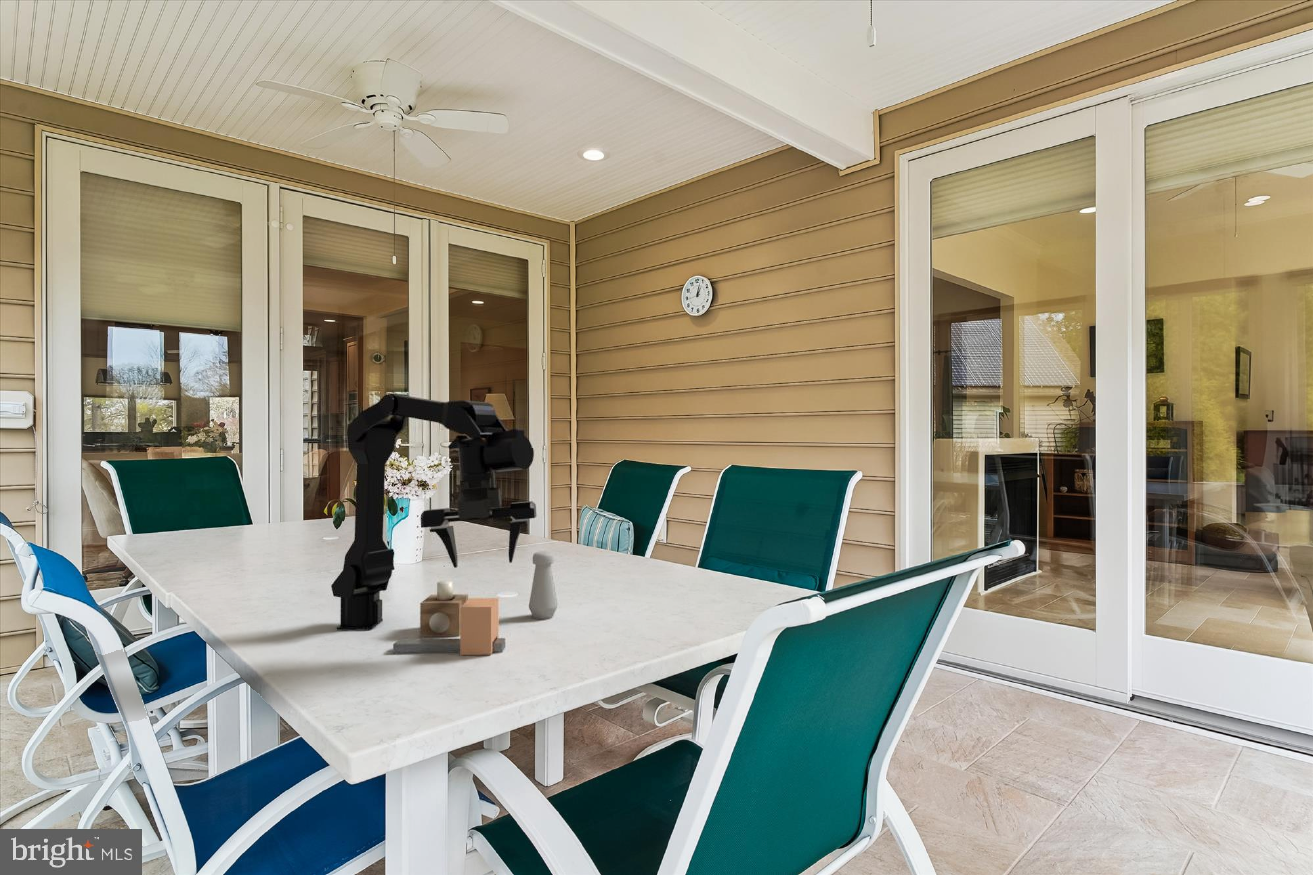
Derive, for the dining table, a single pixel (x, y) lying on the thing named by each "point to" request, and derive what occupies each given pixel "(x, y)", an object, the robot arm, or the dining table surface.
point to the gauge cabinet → (441, 615)
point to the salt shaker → (543, 587)
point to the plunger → (444, 590)
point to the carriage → (479, 625)
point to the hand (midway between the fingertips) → (483, 564)
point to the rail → (437, 645)
